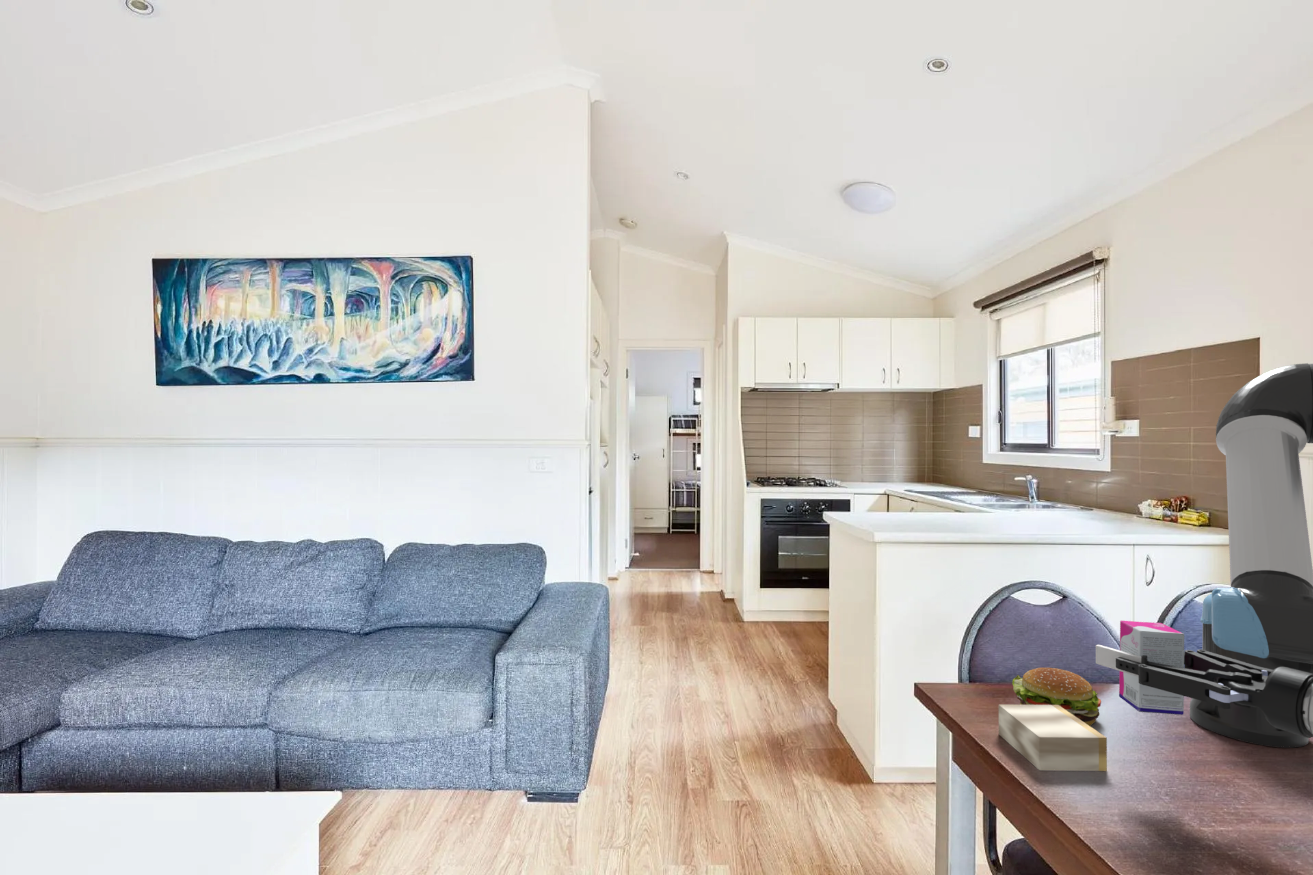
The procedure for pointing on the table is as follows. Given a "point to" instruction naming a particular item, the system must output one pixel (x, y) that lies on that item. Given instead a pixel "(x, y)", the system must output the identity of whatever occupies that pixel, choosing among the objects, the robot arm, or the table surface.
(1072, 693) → the food
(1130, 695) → the supplement box
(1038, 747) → the block
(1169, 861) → the table surface
